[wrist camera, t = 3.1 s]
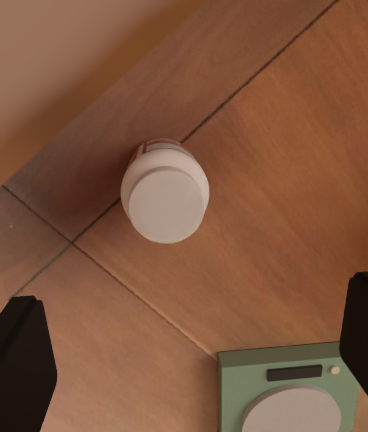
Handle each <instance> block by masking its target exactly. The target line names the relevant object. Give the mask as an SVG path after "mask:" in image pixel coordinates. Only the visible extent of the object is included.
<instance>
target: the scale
mask: <svg viewBox="0 0 368 432" xmlns="http://www.w3.org/2000/svg"><path fill="white" fill-rule="evenodd" d="M339 344H340V342H331V343H319V344H307V345H296V346H284V347H273V348H261V349H250V350H238V351H226V352H218V432H352V428H353V423H354V417H355V412H356V406H357V401H358V395H359V390H360V384H359V383H358V381H357V380H356V379H355V377H354V376H353V374H352V373H351V371H350V370H349V369H348V367H347V366H346V364H345V363H344V362H343V360H342V358H341V356H340V353H339Z"/></svg>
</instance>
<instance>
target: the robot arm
mask: <svg viewBox="0 0 368 432" xmlns="http://www.w3.org/2000/svg"><path fill="white" fill-rule="evenodd" d="M339 353H340V356H341V358H342V360H343V362H344V363H345V364H346V366H347V367H348V369H349V370H350V371H351V373H352V374H353V376H354V377H355V379H356V380H357V381H358V383H359V384H360V386H361V387H362V388H363V390H364V391H365V393H366V394H367V395H368V272H357V273H355V275H354V277H352V278H350V280H349V284H348V290H347V297H346V304H345V310H344V317H343V324H342V330H341V337H340V344H339ZM56 383H57V369H56V364H55V359H54V355H53V350H52V345H51V340H50V335H49V330H48V326H47V321H46V316H45V311H44V306H43V302H42V301H41V300H36V298H35V296H20V297H12V298H11V299H10V301H9V302H8V303H7V305H6V306H5V308H4V309H3V311H2V312H1V313H0V432H40V430H41V427H42V424H43V421H44V418H45V415H46V412H47V410H48V407H49V404H50V401H51V398H52V395H53V392H54V389H55V387H56Z"/></svg>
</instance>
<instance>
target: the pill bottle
mask: <svg viewBox="0 0 368 432" xmlns="http://www.w3.org/2000/svg"><path fill="white" fill-rule="evenodd" d="M208 200H209V185H208V181H207V178H206V175H205V173H204V171H203V169H202V168H201V166H200V165H199V164H198V162H197V161H196V159H195V158H194V157H193V155H192V154H191V152H190V151H189V150H188V149H187V148H186V147H185V146H184V145H182V144H181V143H179V142H177V141H175V140H172V139H168V138H156V139H152V140H149V141H147V142H145V143H143V144H142V145H141V146H139V147H138V148H137V149H136V151H135V152H134V153H133V155H132V157H131V159H130V161H129V164H128V167H127V169H126V172H125V175H124V177H123V180H122V185H121V202H122V205H123V208H124V211H125V213H126V214H127V216H128V218H129V219H130V220H131V223H132V225H133V226H134V228H135V229H136V230H137V231H138V233H140V234H141V235H142V236H143V237H145V238H146V239H148V240H150V241H153V242H157V243H162V244H169V243H175V242H179V241H182V240H184V239H186V238H187V237H189V236H190V235H191V234H193V233H194V232H195V231H196V229H197V228H198V227H199V225H200V223H201V222H202V219H203V216H204V212H205V210H206V208H207V205H208Z"/></svg>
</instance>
